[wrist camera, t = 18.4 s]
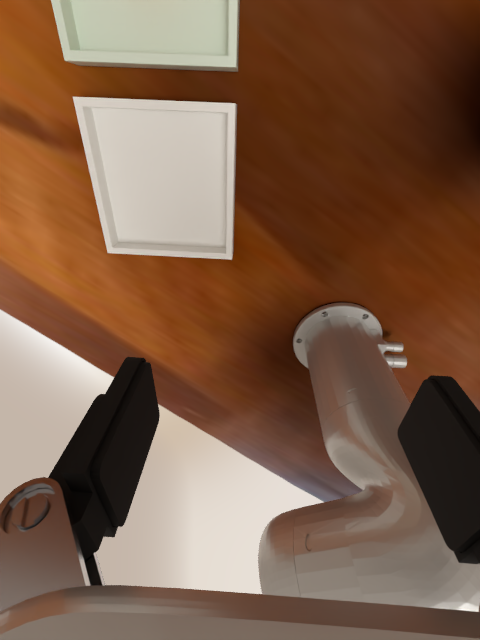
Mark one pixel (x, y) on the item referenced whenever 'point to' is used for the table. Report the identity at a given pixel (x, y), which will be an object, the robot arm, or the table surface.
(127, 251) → the white tray
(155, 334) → the table surface
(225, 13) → the green tray
